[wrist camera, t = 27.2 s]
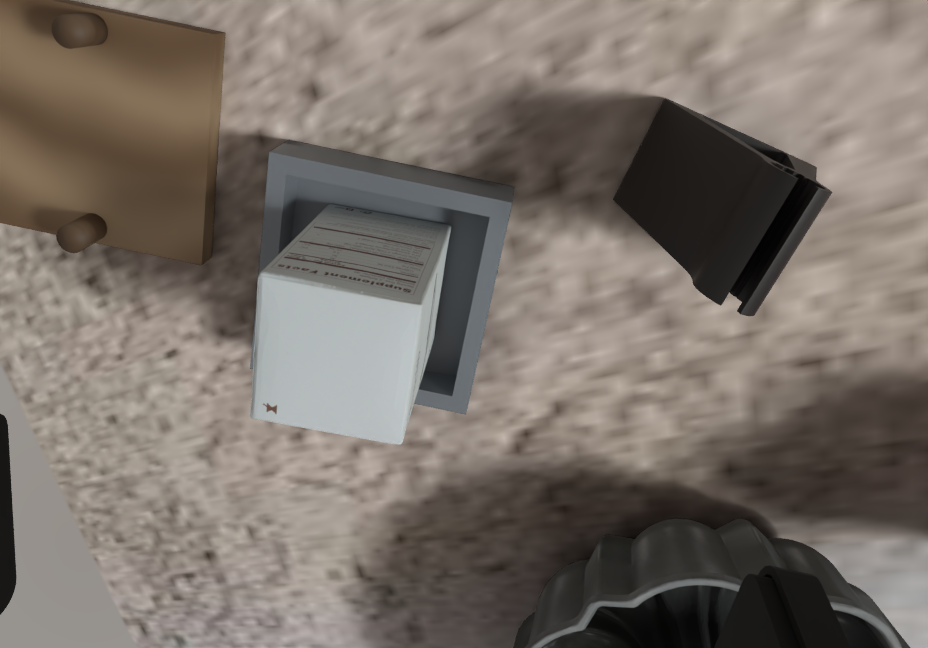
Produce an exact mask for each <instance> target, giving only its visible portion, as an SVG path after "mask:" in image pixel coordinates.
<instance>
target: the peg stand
mask: <svg viewBox="0 0 928 648" xmlns="http://www.w3.org/2000/svg"><path fill="white" fill-rule="evenodd" d="M224 44H225V33H224V32H219V31H214V30H209V29H204V28H200V27H195V26H190V25H185V24H180V23H176V22H171V21H166V20H161V19H156V18H152V17H147V16H142V15H137V14H132V13H128V12H123V11H118V10H113V9H108V8H104V7H99V6H94V5H89V4H84V3H80V2H75V1H70V0H0V223H3V224H8V225H13V226H18V227H22V228H27V229H32V230H37V231H41V232H46V233H51V234H56V237H57V241H58V243H59V245H60V246H61V247H62V248H63V249H64V250H65V251H67V252H70V253H77V252H79V251H81V250H83V249H85V248H86V247H88V246H90V245H92V244H93V243H98V244H103V245H108V246H112V247H117V248H122V249H127V250H131V251H136V252H141V253H146V254H150V255H155V256H160V257H165V258H169V259H174V260H179V261H184V262H188V263H193V264H198V265H203V264H204V263H205V262H206V261H208V260H209V259H210V258H211V257H212V240H213V224H214V208H215V191H216V175H217V158H218V142H219V126H220V109H221V93H222V76H223V60H224Z"/></svg>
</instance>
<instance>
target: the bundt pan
mask: <svg viewBox="0 0 928 648" xmlns="http://www.w3.org/2000/svg"><path fill="white" fill-rule="evenodd" d="M769 565H770V566H775V567H780V568H784V569H789V570H794V571H798V572H803V573H808V574H812V575H814V576H816V577H817V578H818V580H819V581H820V583H821V584H822V586H823V589H824V591H825V593H826V595H827V597H828V599H829V602H830V604H831V606H832V608H833V610H834V612H835V615H836V617H837V619H838V621H839V623H840V625H841V627H842V630H843V632H844V634H845V636H846V638H847V640H848V643H849V645H850V647H851V648H910V647H909V646H908V644H907V643H906V642H905V640H904V639H903V638H902V637H901V635H900V634H899V633H898V632H897V630H896V629H895V628H894V627H893V625H892V624H891V623H890V622H889V620H888V619H887V618H886V616H885V615H884V614H883V613H882V611H881V610H880V609H879V607H878V606H877V605H876V604H875V602H874V601H873V600H872V599H871V598H870V597H869V596H868V595H867V594H866V593H865V592H863V591H862V590H861V589H859V588H857V587H856V586H854V585H852V584H850V583H847V582H846V580H845V579H844V578H843V577H842V575H841V574H840V573H839V572H838V570H837V569H836V568H835V566H834V565H833V564H832V563H831V562H830V561H829V560H828V559H827V558H826V557H824V556H823V555H822V554H820V553H819V552H818V551H816V550H814V549H813V548H811V547H809V546H807V545H805V544H803V543H800V542H797V541H794V540H789V539H781V538H771V539H767V538H766V537H765V536H764V535H763V534H762V533H761V532H760V531H759V530H758V529H757V528H756V527H755V526H754V525H753V524H752V523H751V522H749V521H747V520H745V519H736V520H733V521H731V522H729V523H727V524H725V525H723V526H721V527H719V528H717V529H715V530H713V529H712V528H710V527H708V526H706V525H704V524H702V523H699V522H696V521H693V520H687V519H670V520H665V521H661V522H658V523H655V524H654V525H652V526H650V527H648V528H647V529H645V530H644V531H643V532H641V533H640V534H639V535H638V536H637V537H636V539H631V538H626V537H621V536H616V535H610V534H608V535H604V536H603V537H602V538H601V539H600V540H599V542H598V544H597V546H596V548H595V550H594V552H593V554H592V556H591V558H590V559H586V560H581V561H577V562H574V563H571V564H569V565H567V566H565V567H564V568H562V569H561V570H559V571H558V572H557V573H556V574H555V575H554V576H553V577H552V578H551V579H550V580H549V582H548V583H547V584H546V586H545V588H544V589H543V591H542V593H541V596H540V598H539V601H538V605H537V608H536V612H534V613H533V614H531V615H530V616H529V617H528V618H527V619H526V620H525V621H524V622H523V624H522V625H521V627H520V628H519V631H518V633H517V636H516V640H515V644H514V647H513V648H714V647H715V644H716V642H717V640H718V637H719V635H720V633H721V630H722V628H723V626H724V623H725V621H726V619H727V616H728V614H729V612H730V609H731V607H732V605H733V602H734V600H735V598H736V595H737V593H738V591H739V588H740V586H741V584H742V582H743V580H744V578H745V577H746V576H747V575H748V574H755V575H758V574H759V572H760V571H761V569H763V568H764V567H765V566H769Z"/></svg>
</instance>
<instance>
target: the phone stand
mask: <svg viewBox="0 0 928 648" xmlns="http://www.w3.org/2000/svg"><path fill="white" fill-rule="evenodd" d="M816 169H817V167H815V166H813V165H811V164H809V163H807V162H805V161H803V160H800V159H798V158H796V157H794V156H792V155H789V154H787V153H785V152H783V151H781V150H778V149H776V148H774V147H772V146H770V145H767V144H765V143H763V142H761V141H759V140H757V139H754V138H752V137H750V136H748V135H746V134H743V133H741V132H739V131H737V130H735V129H732V128H730V127H728V126H726V125H724V124H721V123H719V122H717V121H715V120H713V119H710V118H708V117H706V116H704V115H702V114H699V113H697V112H695V111H693V110H691V109H689V108H686V107H684V106H682V105H680V104H678V103H675V102H673V101H671V100H669V99H666V98H665V100H664V102H663V104H662V106H661V107H660V109H659V111H658V113H657V115H656V117H655V119H654V121H653V123H652V125H651V127H650V129H649V131H648V133H647V135H646V137H645V139H644V141H643V143H642V145H641V146H640V148H639V150H638V152H637V154H636V156H635V158H634V160H633V162H632V164H631V166H630V168H629V170H628V172H627V174H626V176H625V178H624V180H623V182H622V183H621V185H620V187H619V189H618V191H617V193H616V195H615V197H614V199H613V200H614V201H615V202H616V203H617V204H618V205H619V206H620V207H621V208H622V209H623V210H624V211H625V212H626V213H628V214H629V215H630V216H631V217H632V218H633V219H634V220H635V221H636V222H637V223H638V224H639V225H640V226H641V227H642V228H643V229H644V230H645V231H646V232H647V233H648V234H649V235H650V236H651V237H652V238H653V239H654V240H655V241H656V242H657V243H659V244H660V245H661V246H662V247H663V248H664V249H665V250H666V251H667V252H668V253H669V254H670V255H671V256H672V257H673V258H674V259H675V260H676V261H677V262H678V263H679V264H680V265H681V266H682V267H683V268H684V269H685V270H686V271H687V272H688V273H689V274H690V276H691V277H692V280H693V285H694V286H695V287H696V288H697V289H698V290H699V291H700V292H701V293H702V294H703V295H705V296H706V297H708V298H709V299H711V300H712V301H714V302H715V303H717V304H719V305H722V303H723V302H724V300H725V298H726V297H727V295H728V293H729V292H730V293H731V294H732V295H733V296H736V297H737V299H739V300H740V301H741V302H742V304H741V305H740V307H739V309H738V310H737V311H738V312H739V313H740V314H742V315H746V316H754V315H755V313H756V312H757V310H758V309H759V307H760V305H761V304H762V302H763V301H764V299H765V298H766V296H767V294H768V293H769V291H770V290H771V288H772V286H773V285H774V283H775V282H776V280H777V279H778V277H779V275H780V274H781V272H782V271H783V269H784V267H785V266H786V264H787V263H788V261H789V260H790V258H791V256H792V255H793V253H794V252H795V250H796V249H797V247H798V245H799V244H800V242H801V241H802V239H803V237H804V236H805V234H806V233H807V231H808V230H809V228H810V226H811V225H812V223H813V222H814V220H815V218H816V217H817V215H818V214H819V212H820V211H821V209H822V207H823V206H824V204H825V203H826V201H827V200H828V198H829V196H830V195H831V193H832V192H831V191H830V190H829V189H827V188H826V187H824V186H823V185H821V184H820V183H818V182H817V181H816Z"/></svg>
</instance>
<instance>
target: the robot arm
mask: <svg viewBox="0 0 928 648" xmlns="http://www.w3.org/2000/svg"><path fill="white" fill-rule="evenodd" d="M15 585H16V564H15V546H14V528H13V512H12V493H11V474H10V457H9V438H8V424H7V420H6V418H5V416H4V415H1V414H0V614H1V613H2V612H3V611H4V609H5V608H6V607H7V605H8V604H9V602H10V600H11V598H12V595H13V593H14V589H15ZM714 648H851V647H850V645H849V643H848V640H847V638H846V636H845V634H844V632H843V630H842V627H841V625H840V623H839V621H838V619H837V617H836V615H835V612H834V610H833V608H832V606H831V604H830V602H829V599H828V597H827V595H826V593H825V591H824V589H823V586H822V584H821V583H820V581H819V580H818V578H817V577H816V576H814V575H812V574H808V573H803V572H798V571H794V570H789V569H784V568H780V567H775V566H770V565H769V566H765V567H764V568H763V569H761V571H760V572H759V574H758V575H755V574H748V575H747V576H746V577H745V578H744V580H743V582H742V584H741V586H740V588H739V591H738V593H737V595H736V598H735V600H734V602H733V605H732V607H731V609H730V612H729V614H728V616H727V619H726V621H725V623H724V626H723V628H722V630H721V633H720V635H719V637H718V640H717V642H716V644H715V647H714Z"/></svg>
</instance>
